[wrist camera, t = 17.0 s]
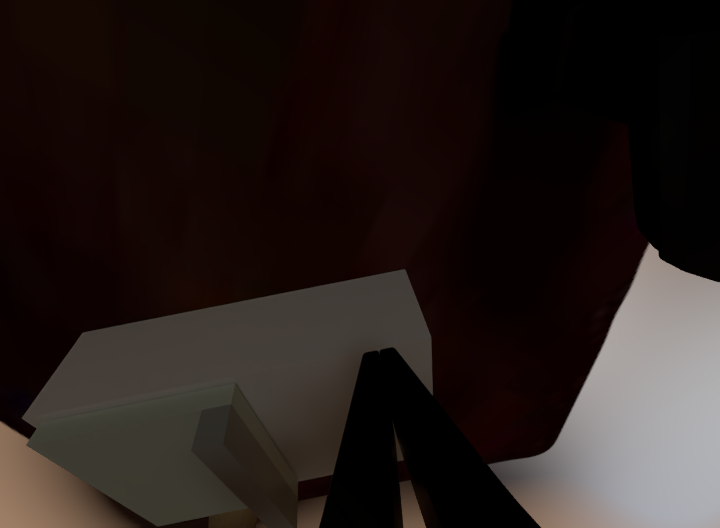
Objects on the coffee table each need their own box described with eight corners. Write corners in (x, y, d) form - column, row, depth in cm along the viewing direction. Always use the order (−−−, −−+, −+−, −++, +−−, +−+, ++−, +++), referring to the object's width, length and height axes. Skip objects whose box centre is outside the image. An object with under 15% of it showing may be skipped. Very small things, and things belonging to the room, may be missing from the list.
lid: (235, 383, 18) (223, 444, 15) (297, 479, 26) (296, 530, 23) (41, 422, 18) (-4, 489, 15) (163, 507, 26) (147, 561, 23)
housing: (404, 269, 23) (431, 336, 18) (415, 386, 31) (434, 453, 26) (82, 332, 22) (21, 418, 18) (180, 433, 31) (157, 510, 26)
